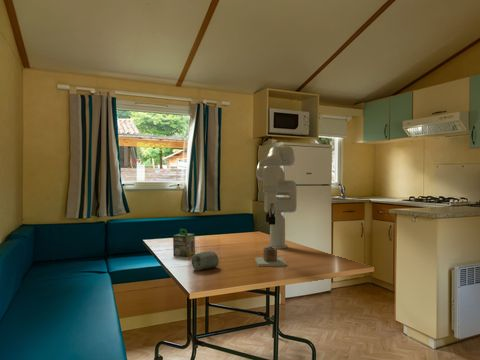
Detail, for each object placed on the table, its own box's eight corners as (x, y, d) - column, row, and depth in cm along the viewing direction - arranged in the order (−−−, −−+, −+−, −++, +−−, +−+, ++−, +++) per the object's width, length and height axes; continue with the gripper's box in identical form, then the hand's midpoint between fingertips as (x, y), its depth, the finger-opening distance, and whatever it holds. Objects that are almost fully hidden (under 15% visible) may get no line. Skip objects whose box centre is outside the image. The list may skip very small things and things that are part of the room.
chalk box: (195, 253, 197) (195, 228, 197) (186, 257, 188) (186, 230, 188) (182, 252, 201) (182, 227, 201) (172, 255, 192) (172, 229, 192)
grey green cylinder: (196, 266, 154) (197, 245, 159) (187, 272, 161) (188, 251, 166) (222, 270, 161) (222, 249, 166) (213, 275, 168) (213, 255, 173)
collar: (263, 259, 179) (263, 247, 179) (274, 258, 179) (274, 247, 179) (265, 261, 173) (265, 249, 173) (276, 261, 173) (277, 249, 173)
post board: (255, 259, 182) (255, 244, 182) (281, 259, 183) (281, 244, 183) (258, 266, 168) (258, 249, 168) (286, 265, 169) (286, 249, 169)
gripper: (261, 189, 184) (261, 221, 184) (265, 190, 167) (265, 225, 167) (274, 189, 185) (274, 221, 185) (280, 190, 168) (280, 225, 168)
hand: (270, 223), depth 176 cm, fingers open, 9 cm apart
